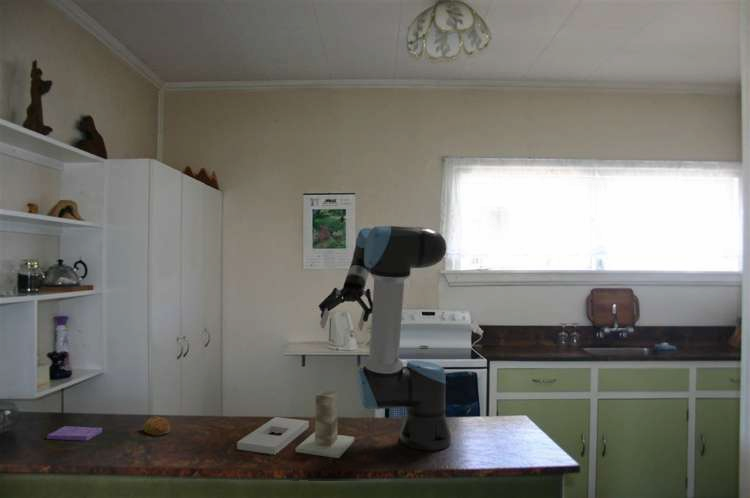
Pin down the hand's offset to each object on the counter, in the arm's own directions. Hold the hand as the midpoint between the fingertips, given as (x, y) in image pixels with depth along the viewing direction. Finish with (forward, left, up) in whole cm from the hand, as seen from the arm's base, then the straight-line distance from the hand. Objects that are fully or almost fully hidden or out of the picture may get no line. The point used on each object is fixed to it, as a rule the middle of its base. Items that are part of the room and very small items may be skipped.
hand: (340, 327), depth 148 cm
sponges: (+72, +34, -33) cm, 86 cm away
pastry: (+52, +23, -32) cm, 65 cm away
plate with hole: (+14, +17, -32) cm, 39 cm away
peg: (-3, +18, -31) cm, 36 cm away
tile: (-3, +18, -32) cm, 37 cm away
